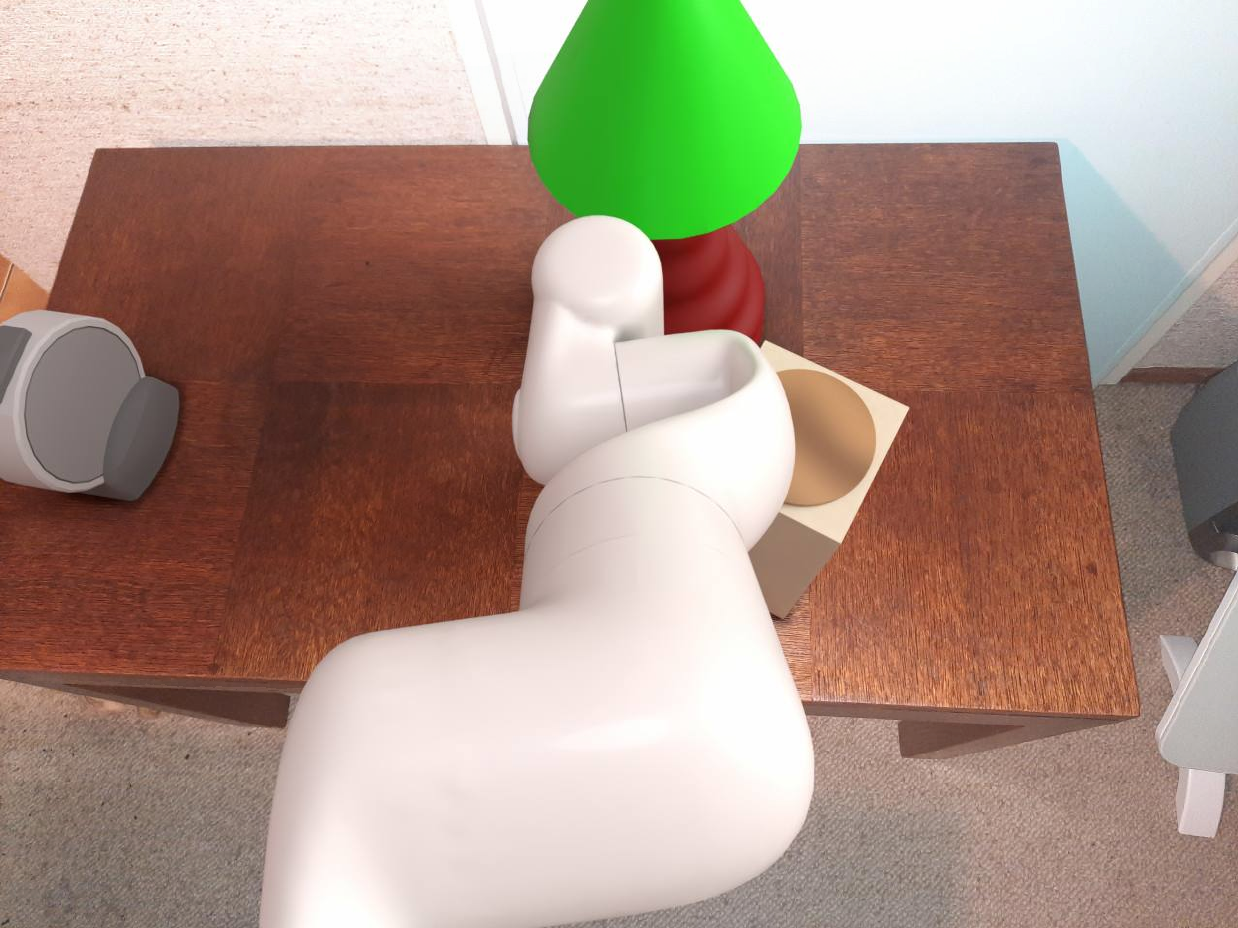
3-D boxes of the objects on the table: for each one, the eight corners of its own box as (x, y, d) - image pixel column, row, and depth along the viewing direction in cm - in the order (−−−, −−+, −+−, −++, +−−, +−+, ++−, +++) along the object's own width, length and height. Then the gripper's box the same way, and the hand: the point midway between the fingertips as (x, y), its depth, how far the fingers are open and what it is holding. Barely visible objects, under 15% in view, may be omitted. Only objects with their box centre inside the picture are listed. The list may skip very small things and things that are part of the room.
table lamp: (800, 349, 86) (925, -55, 43) (627, 440, 84) (581, 108, 41) (701, 206, 92) (725, -269, 50) (537, 287, 90) (417, -137, 48)
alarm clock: (108, 360, 90) (-25, 265, 73) (197, 373, 89) (84, 279, 72) (48, 506, 85) (-110, 440, 68) (143, 521, 84) (6, 458, 67)
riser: (783, 619, 77) (840, 543, 51) (685, 566, 79) (691, 467, 53) (831, 525, 80) (909, 407, 53) (735, 476, 82) (765, 339, 55)
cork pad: (836, 532, 51) (837, 531, 51) (702, 464, 53) (703, 462, 52) (899, 410, 53) (900, 407, 53) (768, 349, 55) (769, 346, 55)
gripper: (474, 350, 59) (518, 441, 76) (695, 462, 56) (690, 532, 73) (531, 267, 61) (561, 374, 78) (748, 370, 58) (731, 459, 74)
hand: (623, 449), depth 75 cm, fingers closed on beverage can, 6 cm apart
